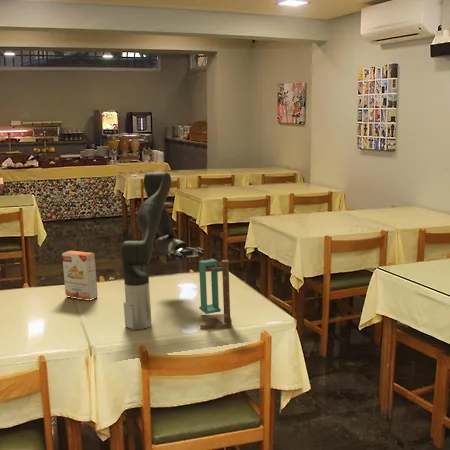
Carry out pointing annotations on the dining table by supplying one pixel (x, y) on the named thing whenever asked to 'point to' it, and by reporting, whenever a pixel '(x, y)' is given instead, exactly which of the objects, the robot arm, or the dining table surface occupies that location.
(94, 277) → the cracker box
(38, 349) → the dining table surface
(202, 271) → the teal loop
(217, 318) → the hook stand
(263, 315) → the dining table surface
